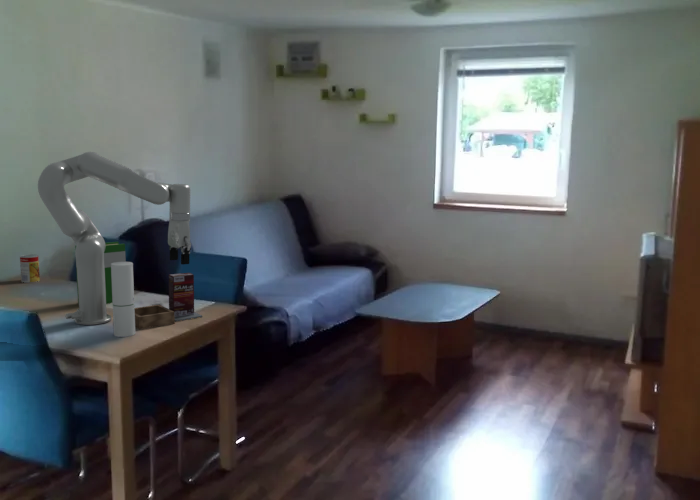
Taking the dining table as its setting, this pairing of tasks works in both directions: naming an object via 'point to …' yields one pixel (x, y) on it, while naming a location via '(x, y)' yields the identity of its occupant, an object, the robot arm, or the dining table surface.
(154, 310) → the pocket frame
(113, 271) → the cylindrical container
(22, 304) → the dining table surface
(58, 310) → the dining table surface
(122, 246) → the hardback book
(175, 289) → the supplement box
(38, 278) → the canned food
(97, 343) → the dining table surface
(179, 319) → the mat
